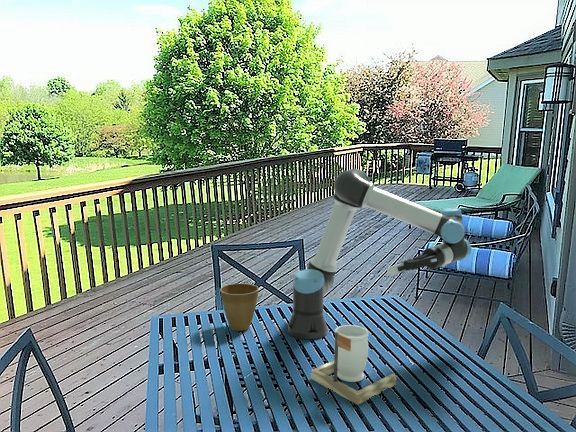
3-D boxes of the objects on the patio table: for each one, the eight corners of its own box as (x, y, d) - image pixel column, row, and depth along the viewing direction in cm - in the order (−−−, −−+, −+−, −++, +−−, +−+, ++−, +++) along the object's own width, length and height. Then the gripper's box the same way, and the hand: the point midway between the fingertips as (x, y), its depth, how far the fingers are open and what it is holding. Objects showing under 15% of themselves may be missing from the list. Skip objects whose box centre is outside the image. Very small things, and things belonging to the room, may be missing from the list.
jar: (372, 374, 149) (374, 329, 147) (357, 388, 141) (359, 340, 139) (343, 365, 155) (345, 321, 153) (327, 377, 147) (328, 331, 145)
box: (348, 362, 157) (350, 311, 154) (395, 384, 143) (398, 328, 140) (311, 379, 146) (312, 323, 143) (357, 405, 132) (360, 344, 129)
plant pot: (265, 324, 189) (265, 286, 187) (246, 337, 176) (246, 296, 174) (233, 318, 195) (233, 280, 193) (213, 330, 182) (212, 290, 180)
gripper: (453, 265, 163) (405, 282, 151) (425, 267, 175) (378, 283, 162) (448, 244, 164) (400, 259, 152) (421, 248, 175) (373, 261, 163)
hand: (389, 271), depth 157 cm, fingers closed
